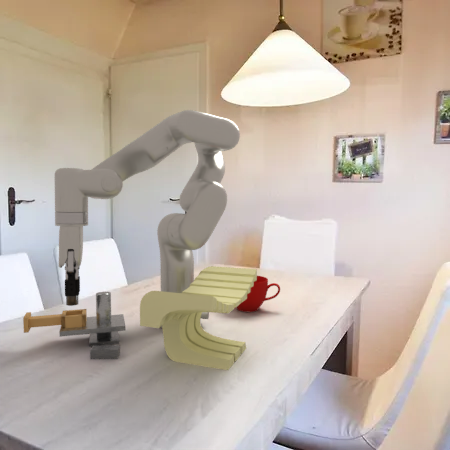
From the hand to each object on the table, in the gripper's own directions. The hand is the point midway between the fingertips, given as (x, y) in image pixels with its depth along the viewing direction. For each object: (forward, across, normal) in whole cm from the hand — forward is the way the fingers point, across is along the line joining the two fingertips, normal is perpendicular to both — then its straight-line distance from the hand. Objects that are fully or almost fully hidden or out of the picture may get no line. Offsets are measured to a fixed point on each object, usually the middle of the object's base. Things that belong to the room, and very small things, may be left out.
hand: (72, 293), depth 98 cm
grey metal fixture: (+12, 0, +5) cm, 13 cm away
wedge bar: (+13, +11, +8) cm, 18 cm away
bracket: (+8, 0, -4) cm, 9 cm away
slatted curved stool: (+12, +16, +30) cm, 36 cm away
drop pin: (+3, 0, 0) cm, 3 cm away
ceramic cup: (+12, -15, +54) cm, 57 cm away
